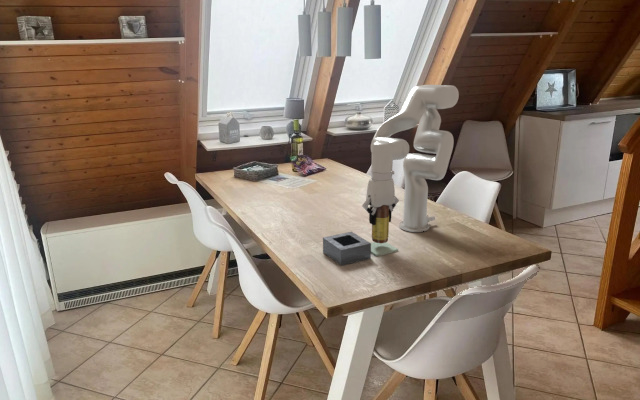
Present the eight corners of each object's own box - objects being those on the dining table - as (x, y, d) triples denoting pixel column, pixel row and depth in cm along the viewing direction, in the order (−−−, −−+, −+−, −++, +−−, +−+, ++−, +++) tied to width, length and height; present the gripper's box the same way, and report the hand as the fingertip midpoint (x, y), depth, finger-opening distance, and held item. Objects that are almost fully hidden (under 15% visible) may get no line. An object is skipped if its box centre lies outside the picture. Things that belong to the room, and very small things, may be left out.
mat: (382, 242, 191) (382, 240, 191) (398, 251, 183) (398, 249, 183) (361, 247, 187) (361, 245, 187) (376, 256, 179) (376, 254, 178)
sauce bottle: (377, 236, 188) (379, 187, 182) (391, 240, 184) (393, 190, 179) (367, 241, 183) (369, 190, 178) (382, 245, 180) (384, 193, 174)
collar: (351, 246, 188) (351, 231, 186) (370, 258, 177) (371, 243, 175) (323, 252, 183) (322, 237, 181) (341, 265, 171) (341, 250, 169)
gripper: (394, 170, 183) (393, 215, 189) (355, 176, 176) (355, 223, 181) (407, 175, 177) (405, 221, 182) (367, 181, 169) (366, 229, 175)
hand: (380, 222), depth 182 cm, fingers closed on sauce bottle, 6 cm apart
